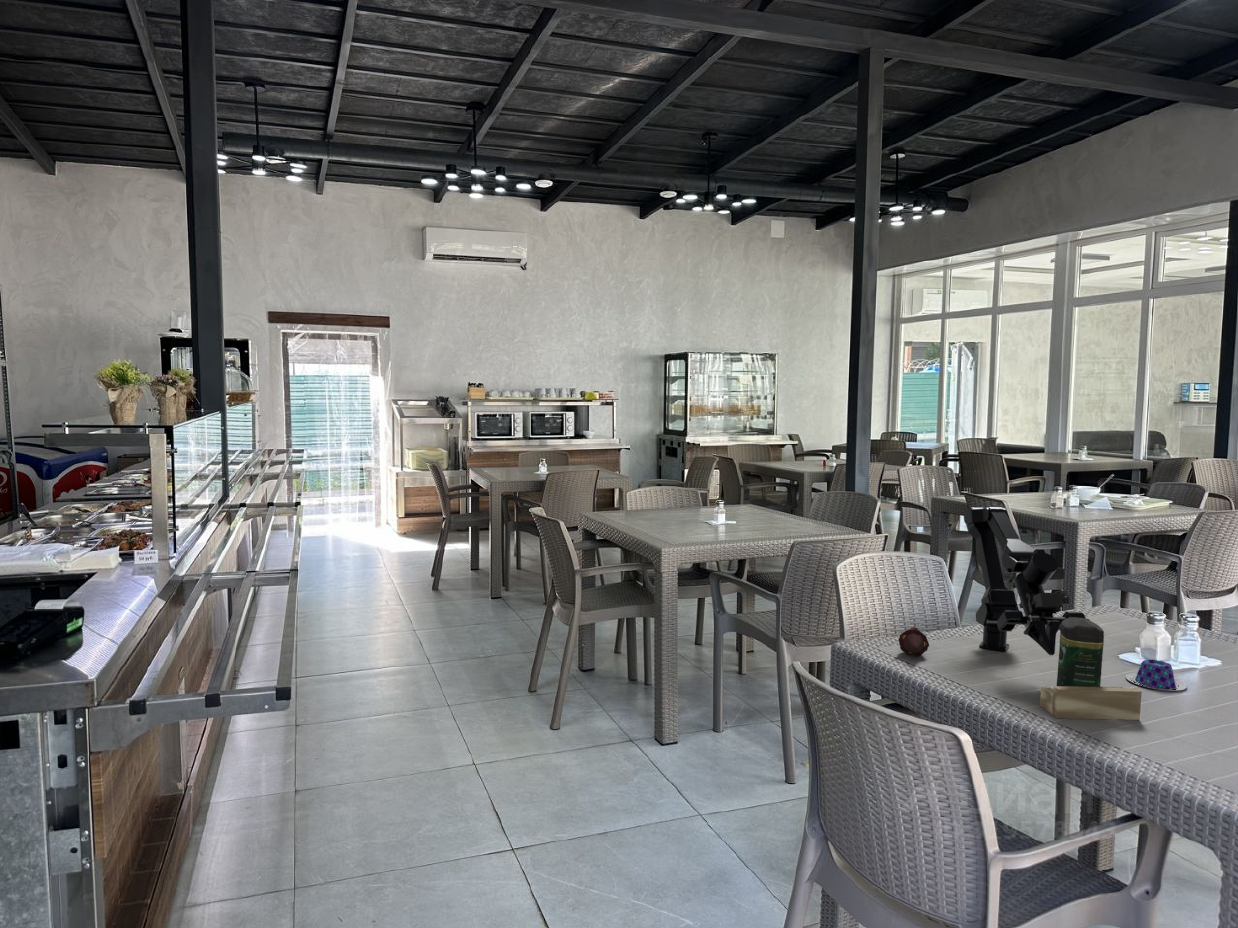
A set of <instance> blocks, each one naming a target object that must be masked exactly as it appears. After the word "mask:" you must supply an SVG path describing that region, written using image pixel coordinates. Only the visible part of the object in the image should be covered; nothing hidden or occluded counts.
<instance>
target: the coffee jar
mask: <svg viewBox="0 0 1238 928" xmlns="http://www.w3.org/2000/svg"><path fill="white" fill-rule="evenodd" d="M1104 639H1105V632H1104V629H1103V628H1102V627H1100V625H1098V624H1097V623H1095V622H1093V621H1092V620H1090V618H1087V617H1086V618H1077V617H1069V618H1067V619H1065V620H1063V621H1062V622H1061V628H1060V630H1059V646H1058V647H1059V648H1058V649H1059V650H1058V660H1057V661H1058V662H1057V674H1056V675H1057V676H1056V685H1055V686H1062V687H1064V686H1097V687H1101V682H1102V680H1101V679H1102V669H1103V654H1104V643H1105V640H1104Z"/></svg>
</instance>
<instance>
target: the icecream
mask: <svg viewBox="0 0 1238 928" xmlns="http://www.w3.org/2000/svg"><path fill="white" fill-rule="evenodd" d="M898 644H899V649H900V650H901V651H902V652H904V653H905V654H907V655H908V656H909V655H916V656H915V657H921V656H922V655H924V654H925V653H926V652H927V651H928V649H929V647H930V643H929V641H928V637H927V635H926V634H925V633H923V632H922V631H920V630H919V629H918V628H917V627H915V626H913V627H910V629H906V630H905V631H904V632H902V633H900V634H899V638H898Z"/></svg>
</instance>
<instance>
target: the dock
mask: <svg viewBox="0 0 1238 928" xmlns="http://www.w3.org/2000/svg"><path fill="white" fill-rule="evenodd" d="M1039 699H1040V700H1039V706H1040V707H1041V708H1043V709H1044V710H1045V711H1047V712H1048V713H1050V715H1052V716H1053V717H1054V718H1055V719H1075V720H1076V719H1077V720H1078V719H1082V720H1083V719H1084V720H1087V719H1089V720H1121V721H1123V720H1126V721H1127V720H1128V721H1131V720H1132V721H1140V718H1141V707H1142V706H1141V704H1142V691H1141V690H1139V689H1138V688H1136V687H1123V686H1100V687H1097V686H1064V687H1062V686H1056V685H1055V686H1053V688H1052V687H1047V686H1045V687H1044V686H1042V687H1040V698H1039Z"/></svg>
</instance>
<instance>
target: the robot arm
mask: <svg viewBox="0 0 1238 928" xmlns="http://www.w3.org/2000/svg"><path fill="white" fill-rule="evenodd" d="M963 514H964V515H963V521H964V523H965V525H966V529H967V532H968V533H969V534H970V535H971V537H973V539H974V540H975V541H976V547H977V552H978V556H979V562H980V567H981V571H982V577H983V582H984V587H985V591H984V593H983V595H982V598H981V605H980V606H979V607H978V610H976V611H975V620H976V621H975V622H976V623H978V624H979V625H981V626H982V627H983V628H982V630H983V633H982V641H981V642H980V644H978V645H979V646H978V647H979V648H983V649H987V650H995V651H1000V652H1007V650H1008V649H1009V647H1010V644H1009V643H1007V637H1008V636H1007V635H1008V632H1012V631H1013V630H1014V629H1015V627H1016V626H1017V625H1019V626H1020V625H1021V626H1022V625H1023V626H1024V629H1025V630H1024V631H1023V634H1024V635H1025V636H1026V635H1027V636H1029V638H1031V639H1032V640H1033V641H1035V643H1037V644H1038V645H1039V646H1040V647H1041V648H1042V649H1043V651H1045V652H1046V653H1047V654H1048V655H1049V656H1054V655H1055V654H1056V639H1057V633H1058V631H1060V628H1061V622H1062V621H1063V620H1065V619H1067V618H1069V617H1077V618H1086V619H1087V617H1086V615H1085V614H1084V613H1083V611H1082V612H1081V611H1071V610H1070V611H1065V612H1064V613H1063V615H1062V616H1054V615H1055V614H1057V612H1058V609H1060V608H1063V607H1064V606H1067V605H1069V604H1070V602H1071V601H1070V596H1069V594H1068V591H1067V590H1065V589H1064V590H1057V591H1055V592H1045V589H1044V585H1045V584H1047V583H1048V582H1049V580H1050V579H1051V578H1052V576H1053V575H1054V574H1055V573H1056V571H1057V570H1058V568H1059V564H1058V563H1059V562H1058V560H1057V559H1056V558H1054V556H1052V555H1051V554H1049V553H1046V551H1045V548H1035V549H1034V548H1032V546H1031V545H1029V544H1028V543H1025V542H1024V541H1022V539H1021V538H1020V537H1019V534H1018V533H1017V531H1016V529H1015V528H1014V526H1013V524H1012V522H1011V520H1010V519H1009V517H1008V515H1007V514H1008V512H1007V509H1006V508H1005V507H1001V506H987V507H972V506H971V507H968V509H967V510H966V511H965V512H964V513H963ZM997 542H998V544H999V546H1000V548H1001V549H1002V554H1001V561H1002V565H1003V566H1001V561H1000V556H999V554H1000V553H999V550H998V549H999V548H998V545H997ZM1002 567H1004V569H1005V571H1006V572H1007V573H1011V574H1014V573H1016V574H1017V575H1016V576H1015V577H1014V579H1013V582H1012V583H1011V588H1013V589H1016V590H1017V594H1018V597H1019V601H1020V603H1019V604H1018V602H1017V600H1016V594H1015V591H1014V590H1013V589H1008V588H1007V586H1006V584H1005V579H1004V573H1003V570H1002ZM1020 609H1022V611H1023V612H1024V613H1023V612H1022V611H1021V610H1020ZM1023 614H1024V615H1023Z"/></svg>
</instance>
